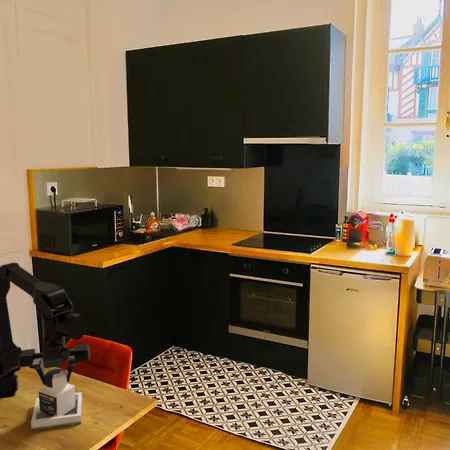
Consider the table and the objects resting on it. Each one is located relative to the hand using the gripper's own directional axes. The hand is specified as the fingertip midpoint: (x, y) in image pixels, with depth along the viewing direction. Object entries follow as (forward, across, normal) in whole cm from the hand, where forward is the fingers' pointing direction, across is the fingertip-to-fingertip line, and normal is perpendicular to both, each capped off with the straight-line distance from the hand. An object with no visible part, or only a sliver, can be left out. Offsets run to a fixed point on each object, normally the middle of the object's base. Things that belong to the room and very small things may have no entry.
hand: (56, 382), depth 138 cm
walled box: (+10, 0, 0) cm, 10 cm away
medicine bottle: (+9, 0, 0) cm, 9 cm away
